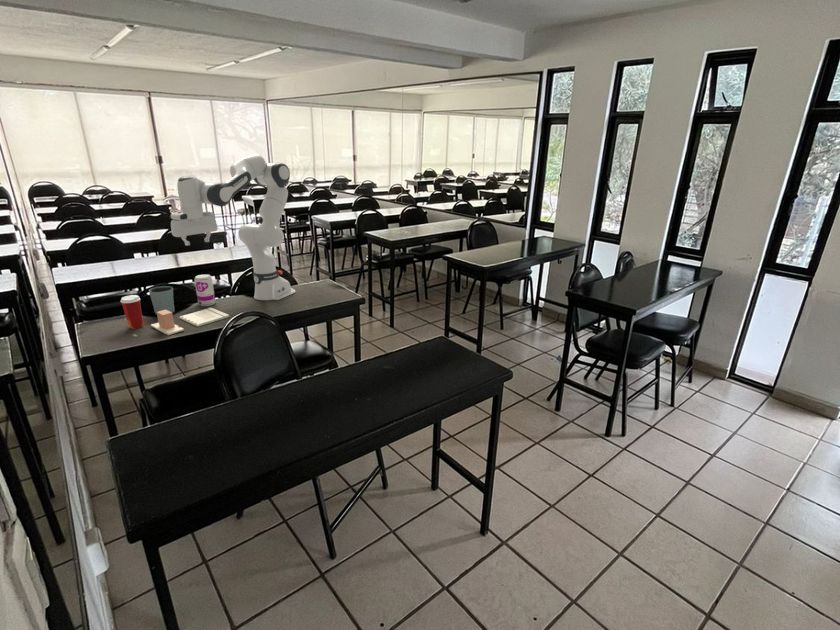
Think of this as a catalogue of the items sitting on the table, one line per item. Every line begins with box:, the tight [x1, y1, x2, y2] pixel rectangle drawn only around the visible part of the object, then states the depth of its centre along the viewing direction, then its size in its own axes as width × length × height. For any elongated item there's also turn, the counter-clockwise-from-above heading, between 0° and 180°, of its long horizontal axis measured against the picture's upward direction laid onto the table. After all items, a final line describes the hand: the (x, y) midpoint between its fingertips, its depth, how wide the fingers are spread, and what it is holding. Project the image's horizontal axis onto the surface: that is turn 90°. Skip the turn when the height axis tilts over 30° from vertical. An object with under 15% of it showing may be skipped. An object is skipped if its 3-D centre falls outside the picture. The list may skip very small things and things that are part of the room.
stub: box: [150, 310, 185, 336], centre depth 206 cm, size 7×16×8 cm, turn 53°
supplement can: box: [194, 273, 216, 307], centre depth 236 cm, size 8×8×15 cm
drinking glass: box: [148, 285, 175, 315], centre depth 225 cm, size 10×10×12 cm
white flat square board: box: [179, 307, 230, 327], centre depth 221 cm, size 16×16×1 cm
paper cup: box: [119, 294, 144, 330], centre depth 208 cm, size 8×8×14 cm
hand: (197, 243), depth 213 cm, fingers open, 8 cm apart
